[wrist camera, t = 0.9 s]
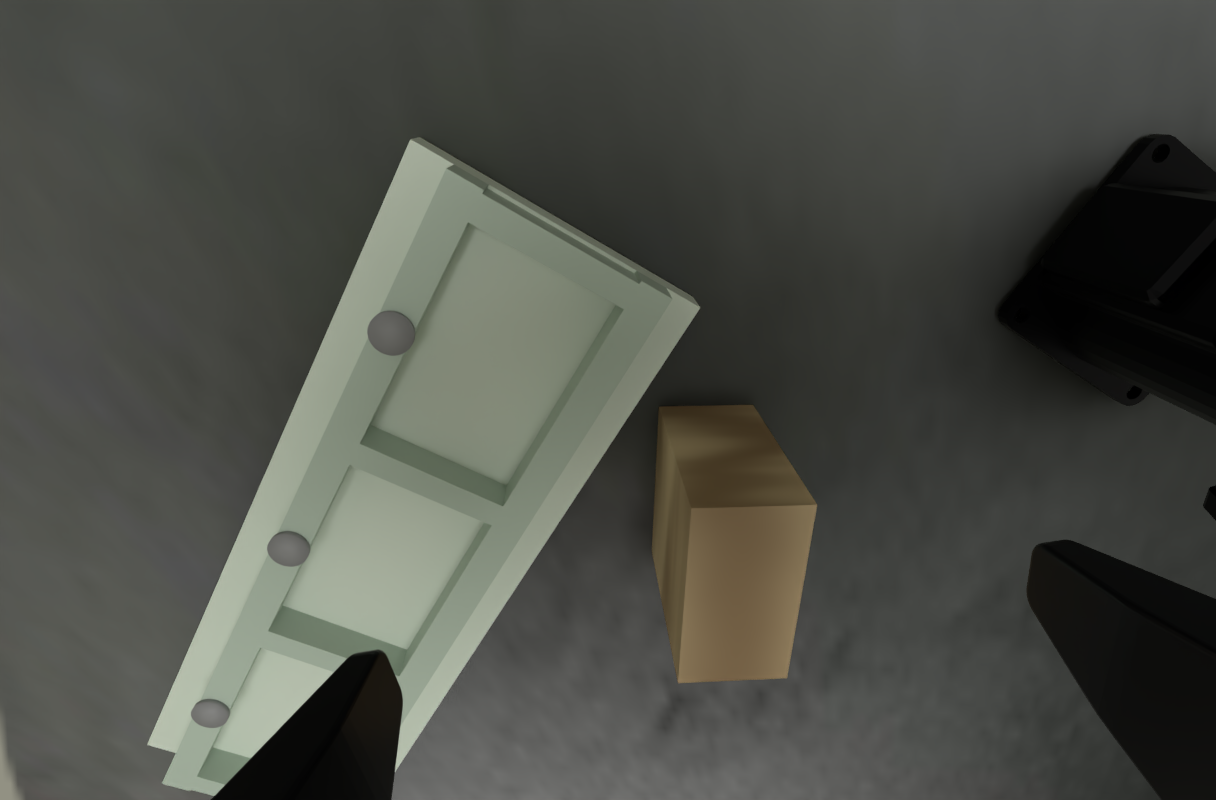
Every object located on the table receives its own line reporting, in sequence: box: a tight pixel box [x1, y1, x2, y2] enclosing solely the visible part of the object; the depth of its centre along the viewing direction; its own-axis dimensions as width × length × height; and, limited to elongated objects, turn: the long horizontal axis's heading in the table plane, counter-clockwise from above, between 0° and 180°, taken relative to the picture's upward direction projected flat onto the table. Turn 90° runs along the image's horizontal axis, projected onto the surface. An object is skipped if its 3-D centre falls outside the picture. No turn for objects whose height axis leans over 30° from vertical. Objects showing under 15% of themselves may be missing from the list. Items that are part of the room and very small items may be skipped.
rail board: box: [147, 137, 700, 796], centre depth 21 cm, size 9×25×3 cm, turn 149°
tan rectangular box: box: [652, 405, 817, 683], centre depth 20 cm, size 3×6×6 cm, turn 0°
